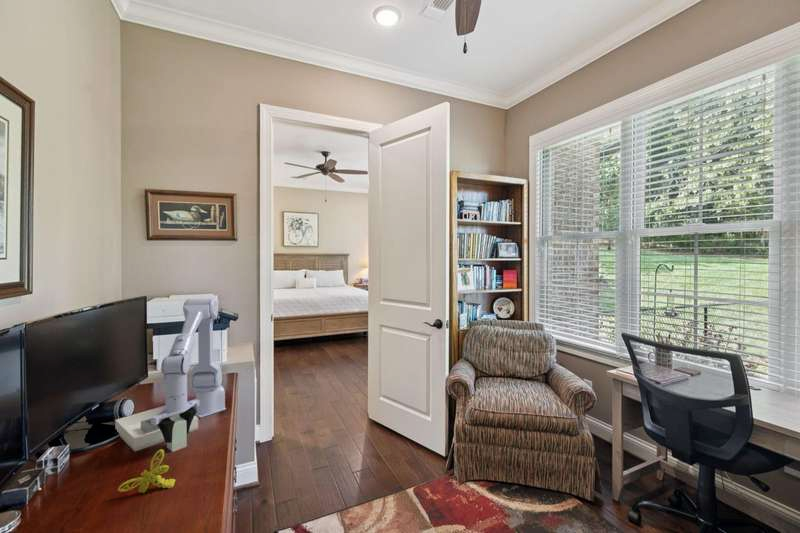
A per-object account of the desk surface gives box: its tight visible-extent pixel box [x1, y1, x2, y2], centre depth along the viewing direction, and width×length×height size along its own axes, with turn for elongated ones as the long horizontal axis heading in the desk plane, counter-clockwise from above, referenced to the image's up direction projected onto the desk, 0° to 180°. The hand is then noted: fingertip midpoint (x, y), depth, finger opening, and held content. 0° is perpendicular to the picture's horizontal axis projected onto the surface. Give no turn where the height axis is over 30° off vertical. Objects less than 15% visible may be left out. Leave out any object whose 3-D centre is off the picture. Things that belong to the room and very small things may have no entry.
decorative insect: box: [117, 448, 176, 494], centre depth 90 cm, size 12×3×10 cm
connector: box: [166, 418, 188, 452], centre depth 110 cm, size 4×4×8 cm
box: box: [114, 405, 199, 452], centre depth 120 cm, size 18×20×4 cm
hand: (176, 437), depth 110 cm, fingers closed on connector, 5 cm apart
